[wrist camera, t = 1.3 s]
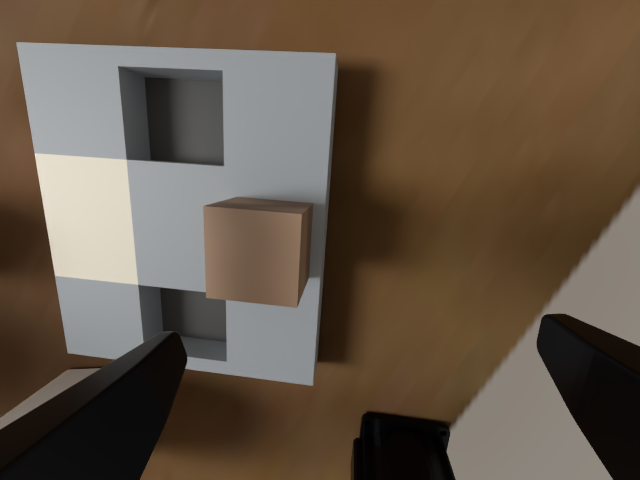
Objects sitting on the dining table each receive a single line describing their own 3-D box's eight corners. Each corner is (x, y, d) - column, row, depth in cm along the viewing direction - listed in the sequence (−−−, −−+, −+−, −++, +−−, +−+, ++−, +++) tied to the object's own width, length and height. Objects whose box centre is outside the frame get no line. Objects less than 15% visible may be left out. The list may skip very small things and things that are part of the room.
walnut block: (313, 203, 17) (301, 214, 13) (308, 278, 18) (297, 307, 15) (235, 196, 18) (202, 206, 14) (236, 270, 19) (206, 298, 15)
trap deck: (338, 68, 18) (335, 53, 15) (317, 362, 23) (312, 385, 20) (58, 57, 19) (16, 42, 17) (96, 334, 24) (67, 353, 22)
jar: (172, 422, 26) (24, 633, 14) (112, 460, 28) (-62, 674, 16) (99, 344, 25) (-127, 505, 13) (41, 389, 26) (-201, 565, 15)
